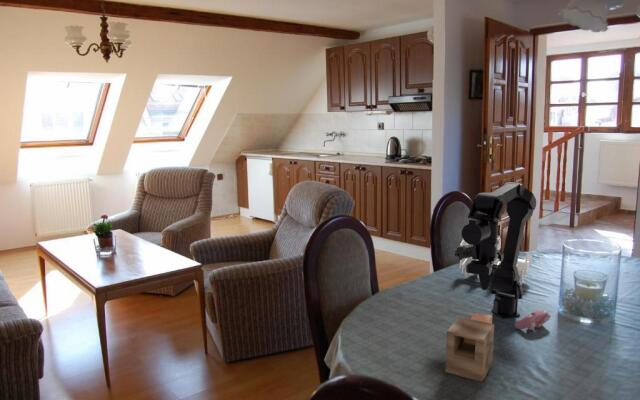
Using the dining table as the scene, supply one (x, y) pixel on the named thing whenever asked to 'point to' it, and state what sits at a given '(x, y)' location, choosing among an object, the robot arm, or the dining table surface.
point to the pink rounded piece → (533, 320)
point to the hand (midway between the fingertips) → (484, 289)
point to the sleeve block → (469, 348)
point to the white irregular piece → (521, 264)
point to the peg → (478, 318)
